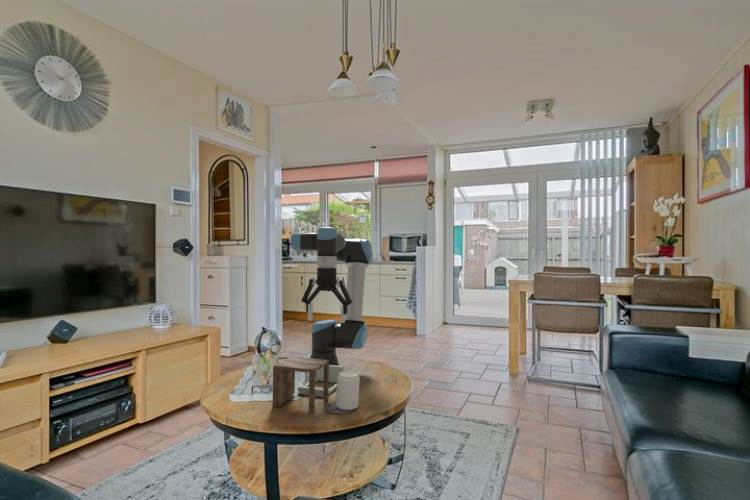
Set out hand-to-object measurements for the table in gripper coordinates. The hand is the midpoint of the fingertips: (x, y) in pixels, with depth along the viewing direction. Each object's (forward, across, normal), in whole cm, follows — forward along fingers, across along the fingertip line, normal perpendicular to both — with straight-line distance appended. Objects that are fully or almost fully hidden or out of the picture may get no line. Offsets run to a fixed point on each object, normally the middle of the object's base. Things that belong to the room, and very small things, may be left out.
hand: (326, 321), depth 161 cm
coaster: (+29, +9, -10) cm, 32 cm away
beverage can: (+29, +12, -9) cm, 32 cm away
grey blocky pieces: (+30, -6, +10) cm, 32 cm away
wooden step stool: (+29, -6, -8) cm, 31 cm away
